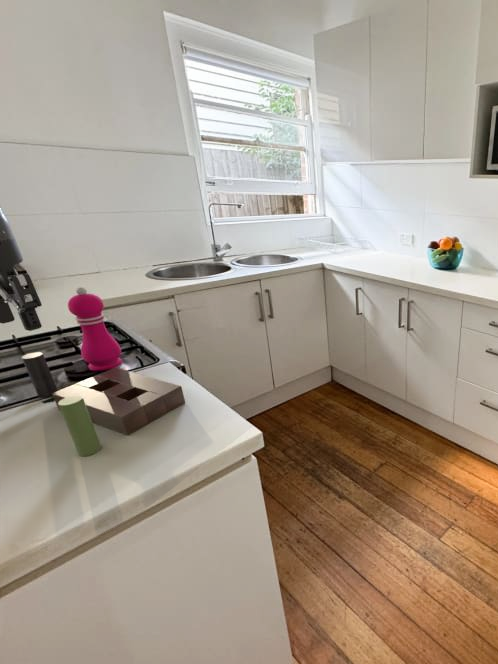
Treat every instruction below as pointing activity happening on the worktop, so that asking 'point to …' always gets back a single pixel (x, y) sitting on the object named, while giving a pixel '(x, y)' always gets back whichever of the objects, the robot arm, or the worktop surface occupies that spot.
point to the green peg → (80, 425)
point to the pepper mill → (94, 332)
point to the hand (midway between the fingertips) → (20, 325)
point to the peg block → (124, 399)
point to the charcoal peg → (40, 375)
